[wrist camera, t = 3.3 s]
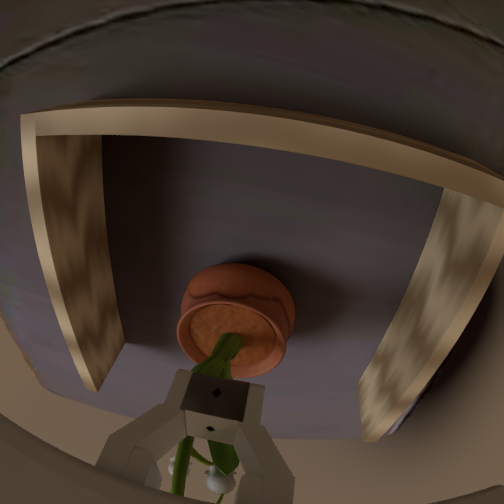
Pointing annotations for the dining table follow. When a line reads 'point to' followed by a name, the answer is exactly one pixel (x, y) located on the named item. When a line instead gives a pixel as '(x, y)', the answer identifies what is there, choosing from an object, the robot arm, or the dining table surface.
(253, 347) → the potted flower
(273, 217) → the dining table surface
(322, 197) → the dining table surface
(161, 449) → the robot arm
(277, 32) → the dining table surface
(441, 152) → the open wooden planter box
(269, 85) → the dining table surface
